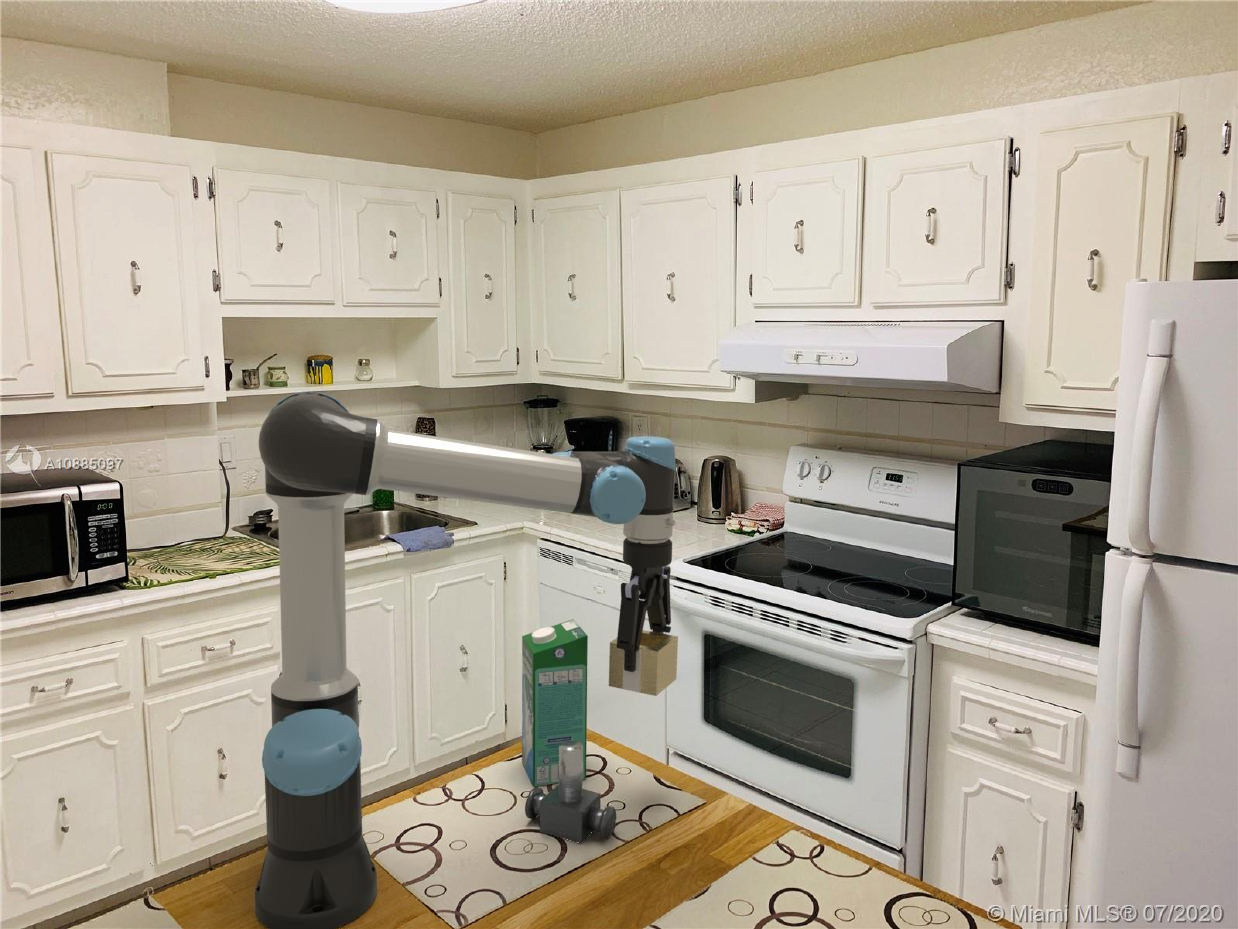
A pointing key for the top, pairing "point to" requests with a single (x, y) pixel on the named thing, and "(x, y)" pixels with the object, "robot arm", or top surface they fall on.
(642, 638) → the collar
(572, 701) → the milk carton
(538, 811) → the valve
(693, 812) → the top surface
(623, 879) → the top surface
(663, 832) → the top surface
